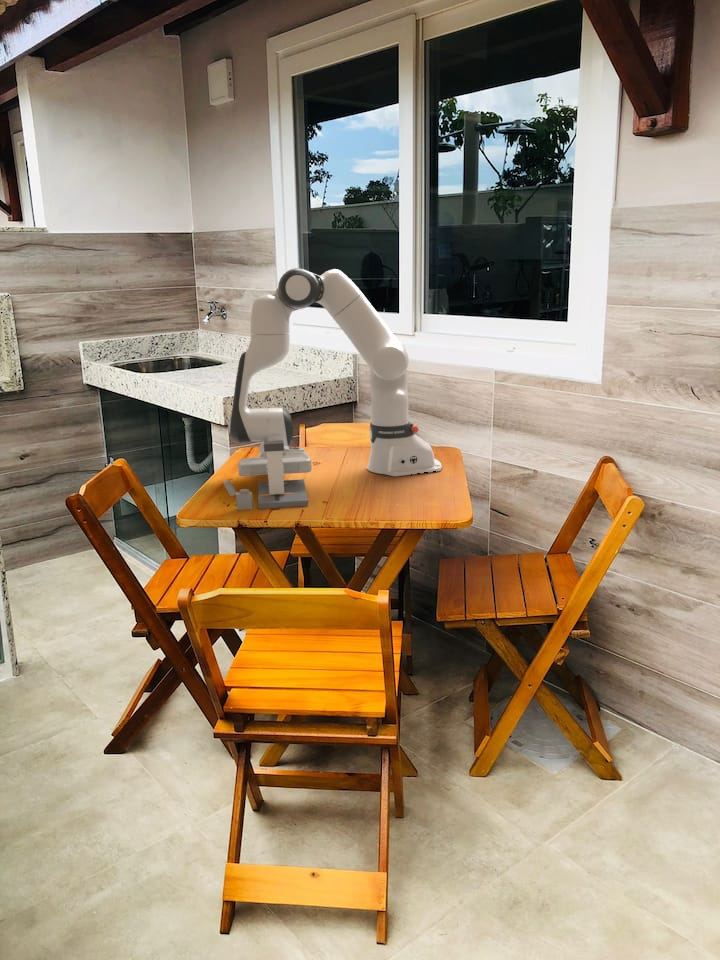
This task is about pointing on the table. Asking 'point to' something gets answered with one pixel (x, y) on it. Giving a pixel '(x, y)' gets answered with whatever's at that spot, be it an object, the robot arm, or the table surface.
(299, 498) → the console
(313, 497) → the table surface
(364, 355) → the robot arm
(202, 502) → the table surface
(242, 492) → the lighter
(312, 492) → the table surface
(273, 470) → the grey post
